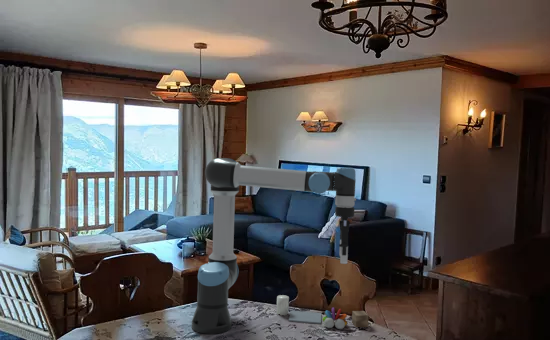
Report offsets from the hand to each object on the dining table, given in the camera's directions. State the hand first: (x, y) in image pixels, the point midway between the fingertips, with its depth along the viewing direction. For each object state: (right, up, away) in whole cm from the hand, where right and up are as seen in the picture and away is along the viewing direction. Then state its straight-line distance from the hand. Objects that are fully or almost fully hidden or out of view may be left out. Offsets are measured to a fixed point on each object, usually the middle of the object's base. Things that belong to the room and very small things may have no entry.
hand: (343, 259), depth 174 cm
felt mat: (-15, -26, +7) cm, 30 cm away
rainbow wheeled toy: (-3, -27, 0) cm, 27 cm away
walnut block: (+7, -27, +1) cm, 28 cm away
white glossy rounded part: (-24, -25, +11) cm, 37 cm away
